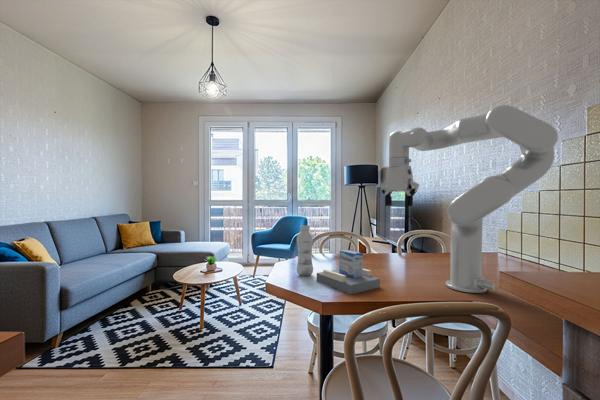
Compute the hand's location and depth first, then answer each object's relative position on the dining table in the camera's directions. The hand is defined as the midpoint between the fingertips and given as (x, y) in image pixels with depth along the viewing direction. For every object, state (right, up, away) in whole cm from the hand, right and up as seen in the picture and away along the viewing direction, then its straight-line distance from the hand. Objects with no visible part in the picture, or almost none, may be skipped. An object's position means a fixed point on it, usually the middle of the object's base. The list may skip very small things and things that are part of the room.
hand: (398, 206), depth 114 cm
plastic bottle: (-37, -28, +1) cm, 47 cm away
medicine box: (-21, -25, -9) cm, 34 cm away
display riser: (-22, -28, -10) cm, 37 cm away
